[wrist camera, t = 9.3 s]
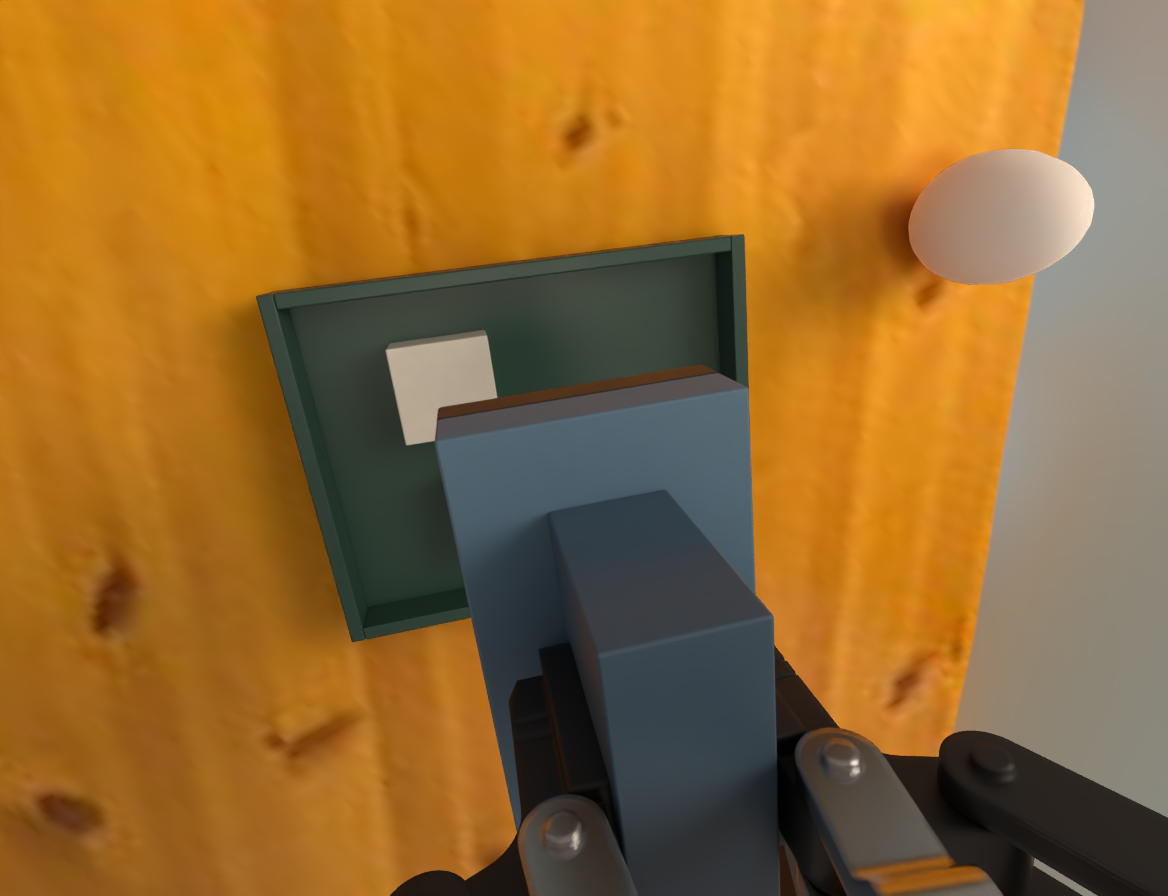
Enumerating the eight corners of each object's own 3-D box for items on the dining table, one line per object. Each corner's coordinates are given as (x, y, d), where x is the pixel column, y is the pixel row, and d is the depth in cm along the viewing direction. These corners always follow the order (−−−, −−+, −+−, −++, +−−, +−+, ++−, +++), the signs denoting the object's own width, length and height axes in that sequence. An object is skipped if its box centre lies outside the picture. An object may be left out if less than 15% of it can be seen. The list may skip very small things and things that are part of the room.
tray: (358, 614, 30) (351, 643, 28) (271, 291, 25) (255, 296, 23) (734, 538, 33) (753, 558, 31) (722, 235, 28) (744, 234, 26)
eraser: (514, 779, 17) (550, 1114, 10) (437, 407, 14) (419, 561, 7) (723, 726, 18) (878, 1006, 11) (702, 363, 14) (907, 464, 8)
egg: (888, 158, 29) (1033, 129, 21) (988, 164, 30) (1159, 138, 22) (869, 280, 30) (999, 290, 23) (965, 281, 31) (1118, 292, 24)
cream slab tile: (408, 433, 28) (405, 446, 26) (389, 343, 26) (384, 349, 25) (499, 419, 28) (502, 430, 26) (484, 329, 27) (487, 335, 25)
